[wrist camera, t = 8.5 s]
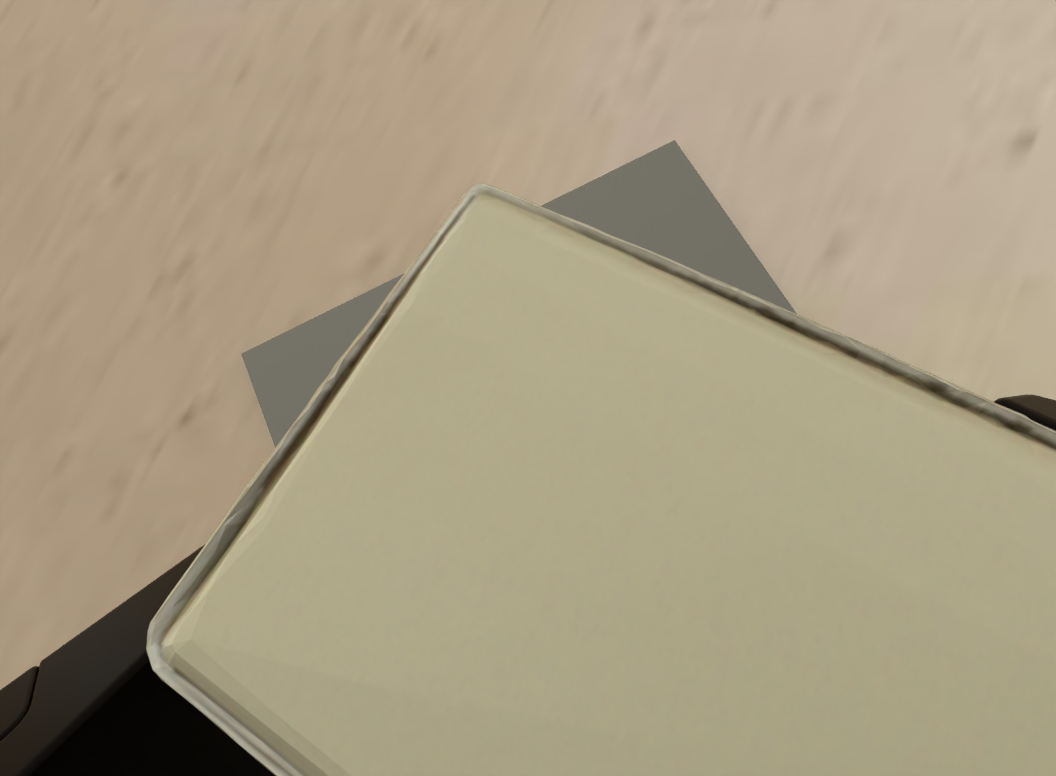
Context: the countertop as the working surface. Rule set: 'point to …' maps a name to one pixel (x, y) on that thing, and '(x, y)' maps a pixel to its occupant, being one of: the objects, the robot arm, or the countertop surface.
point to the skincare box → (625, 540)
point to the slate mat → (605, 203)
